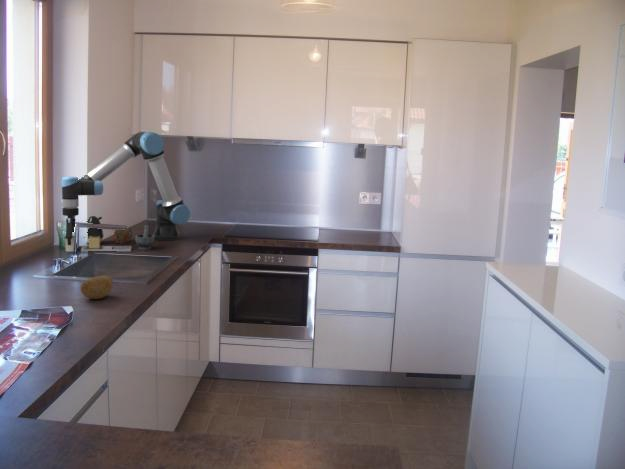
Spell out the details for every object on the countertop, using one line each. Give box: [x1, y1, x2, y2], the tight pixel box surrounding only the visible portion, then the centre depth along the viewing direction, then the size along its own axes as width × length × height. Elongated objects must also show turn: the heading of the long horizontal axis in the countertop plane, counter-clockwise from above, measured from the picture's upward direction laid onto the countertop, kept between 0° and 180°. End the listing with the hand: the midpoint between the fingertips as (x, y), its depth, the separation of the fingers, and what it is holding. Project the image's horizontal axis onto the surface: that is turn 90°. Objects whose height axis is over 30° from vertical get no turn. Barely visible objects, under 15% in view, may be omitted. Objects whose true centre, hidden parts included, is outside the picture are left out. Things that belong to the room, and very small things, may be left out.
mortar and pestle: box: [134, 225, 155, 251], centre depth 296 cm, size 11×9×12 cm
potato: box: [80, 274, 114, 300], centre depth 202 cm, size 10×14×8 cm
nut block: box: [64, 236, 75, 252], centre depth 283 cm, size 5×5×7 cm
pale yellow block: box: [88, 236, 101, 249], centre depth 286 cm, size 5×5×7 cm
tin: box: [113, 227, 133, 245], centre depth 311 cm, size 15×3×8 cm, turn 168°
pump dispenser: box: [86, 215, 104, 243], centre depth 303 cm, size 10×10×15 cm
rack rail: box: [80, 245, 132, 253], centre depth 289 cm, size 24×9×1 cm, turn 106°
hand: (71, 248), depth 284 cm, fingers open, 13 cm apart
